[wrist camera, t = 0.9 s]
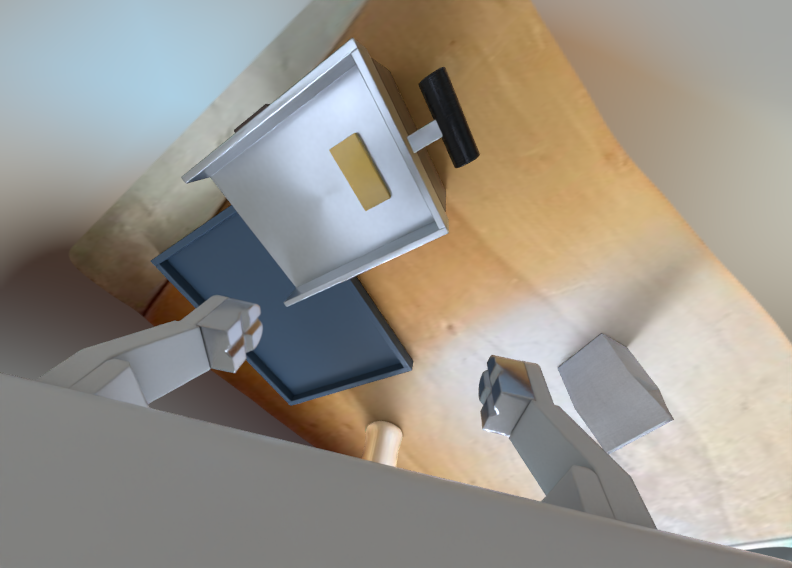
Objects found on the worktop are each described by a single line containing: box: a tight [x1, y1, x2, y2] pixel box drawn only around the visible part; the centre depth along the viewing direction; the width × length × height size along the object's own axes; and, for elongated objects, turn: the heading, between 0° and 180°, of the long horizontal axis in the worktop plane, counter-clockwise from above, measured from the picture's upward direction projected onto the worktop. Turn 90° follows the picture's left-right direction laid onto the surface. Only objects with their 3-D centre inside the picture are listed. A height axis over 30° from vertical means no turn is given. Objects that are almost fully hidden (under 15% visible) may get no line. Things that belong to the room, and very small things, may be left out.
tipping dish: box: [181, 38, 480, 307], centre depth 21 cm, size 12×19×3 cm, turn 120°
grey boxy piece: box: [558, 333, 674, 454], centre depth 31 cm, size 4×7×10 cm, turn 152°
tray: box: [151, 205, 413, 406], centre depth 38 cm, size 28×22×2 cm
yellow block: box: [329, 133, 391, 211], centre depth 21 cm, size 5×2×1 cm, turn 30°
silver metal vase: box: [361, 421, 403, 467], centre depth 42 cm, size 7×7×15 cm
